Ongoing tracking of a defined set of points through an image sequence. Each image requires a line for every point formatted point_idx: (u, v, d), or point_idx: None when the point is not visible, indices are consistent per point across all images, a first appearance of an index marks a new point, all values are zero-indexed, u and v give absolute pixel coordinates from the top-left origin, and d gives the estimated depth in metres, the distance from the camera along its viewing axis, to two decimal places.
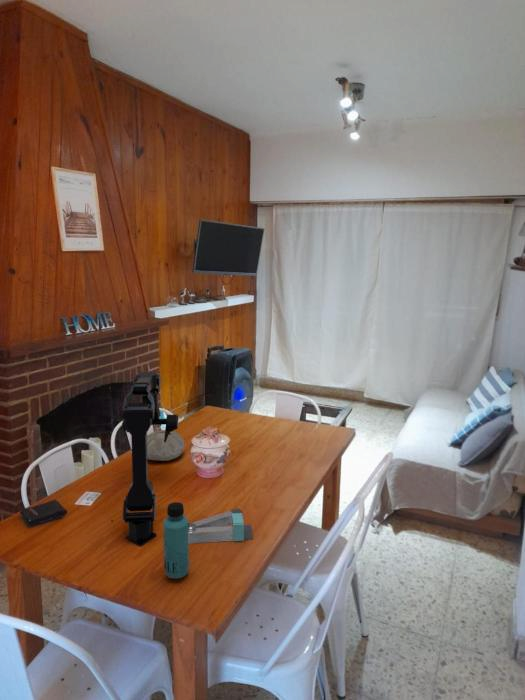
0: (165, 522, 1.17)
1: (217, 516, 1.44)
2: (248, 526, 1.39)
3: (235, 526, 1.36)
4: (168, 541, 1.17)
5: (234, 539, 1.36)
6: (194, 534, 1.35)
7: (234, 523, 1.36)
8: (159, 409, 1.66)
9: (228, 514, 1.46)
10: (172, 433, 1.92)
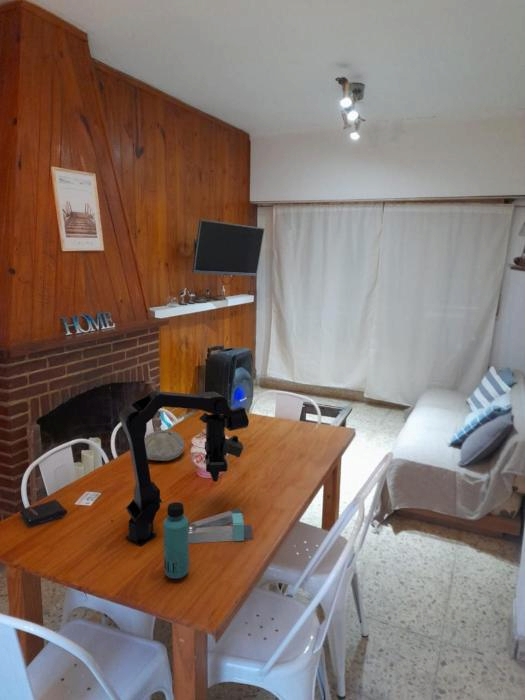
0: (165, 522, 1.17)
1: (217, 516, 1.44)
2: (248, 526, 1.39)
3: (235, 526, 1.36)
4: (168, 541, 1.17)
5: (234, 539, 1.36)
6: (194, 534, 1.35)
7: (234, 523, 1.36)
8: (225, 448, 1.43)
9: (228, 514, 1.46)
10: (172, 433, 1.92)
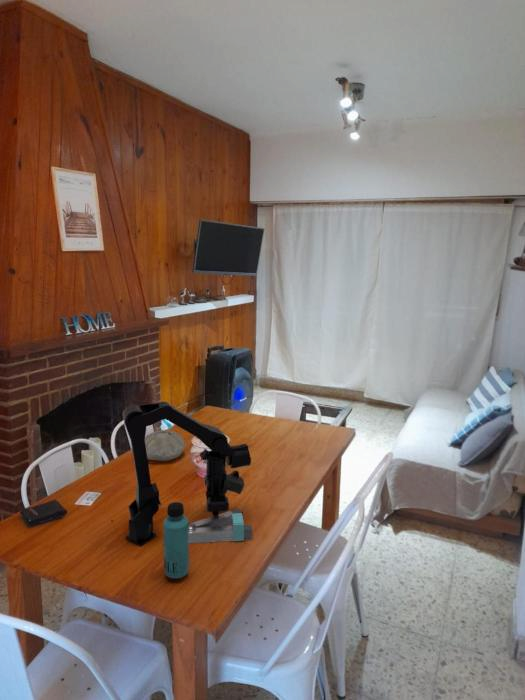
0: (165, 522, 1.17)
1: (217, 516, 1.44)
2: (248, 526, 1.39)
3: (235, 526, 1.36)
4: (168, 540, 1.17)
5: (234, 539, 1.36)
6: (194, 534, 1.35)
7: (234, 523, 1.36)
8: (226, 485, 1.41)
9: (228, 514, 1.45)
10: (172, 433, 1.92)
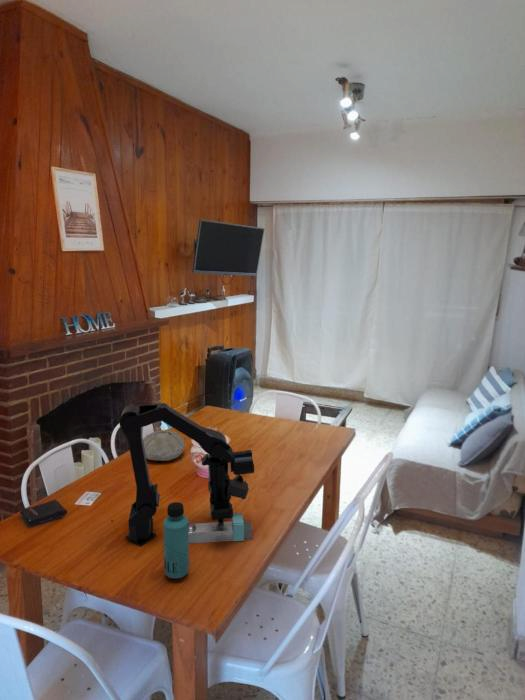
0: (165, 522, 1.17)
1: (223, 523, 1.41)
2: (248, 526, 1.39)
3: (235, 526, 1.36)
4: (168, 540, 1.17)
5: (234, 539, 1.36)
6: (194, 534, 1.35)
7: (234, 523, 1.36)
8: (230, 491, 1.37)
9: None
10: (172, 433, 1.92)
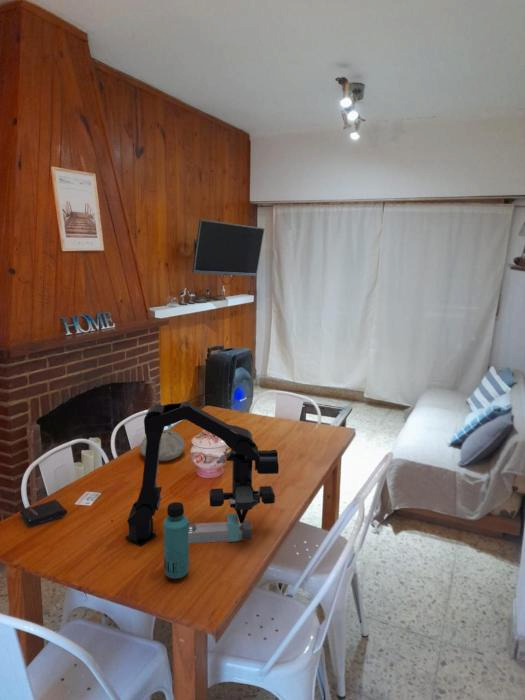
0: (165, 522, 1.17)
1: (223, 523, 1.40)
2: (248, 526, 1.39)
3: (230, 526, 1.35)
4: (168, 541, 1.17)
5: (229, 539, 1.36)
6: (194, 534, 1.35)
7: (229, 523, 1.36)
8: (233, 491, 1.34)
9: None
10: (172, 433, 1.92)
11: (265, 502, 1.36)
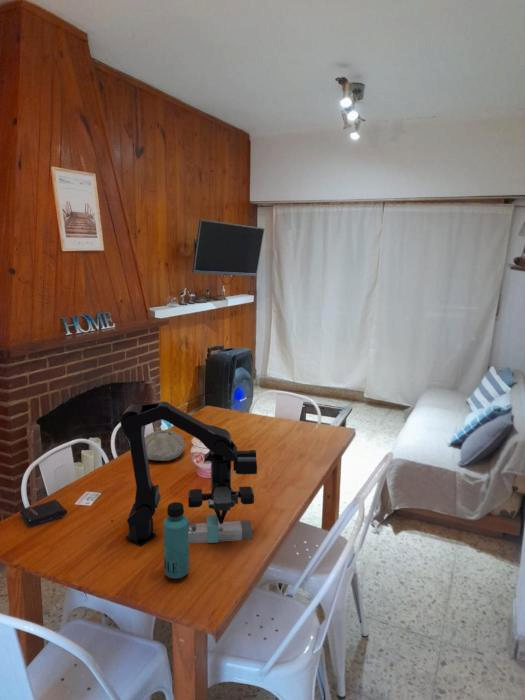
0: (165, 522, 1.17)
1: (223, 523, 1.40)
2: (248, 526, 1.39)
3: (209, 528, 1.35)
4: (168, 541, 1.17)
5: (208, 541, 1.35)
6: (194, 534, 1.35)
7: (208, 525, 1.35)
8: (211, 491, 1.33)
9: (235, 524, 1.40)
10: (172, 433, 1.92)
11: (244, 502, 1.35)
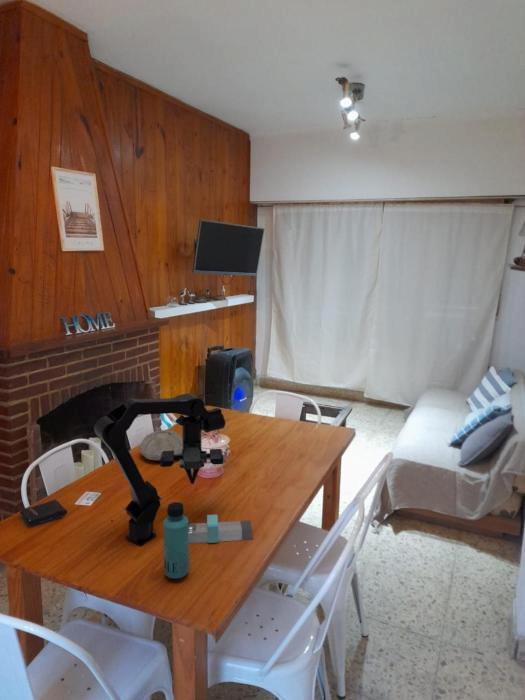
0: (165, 522, 1.17)
1: (223, 523, 1.40)
2: (248, 526, 1.39)
3: (209, 528, 1.35)
4: (168, 541, 1.17)
5: (208, 541, 1.35)
6: (194, 534, 1.35)
7: (208, 525, 1.35)
8: (182, 451, 1.40)
9: (235, 524, 1.40)
10: (172, 433, 1.92)
11: (214, 463, 1.42)
